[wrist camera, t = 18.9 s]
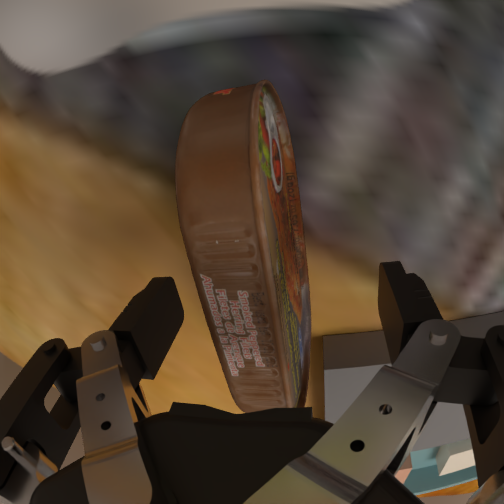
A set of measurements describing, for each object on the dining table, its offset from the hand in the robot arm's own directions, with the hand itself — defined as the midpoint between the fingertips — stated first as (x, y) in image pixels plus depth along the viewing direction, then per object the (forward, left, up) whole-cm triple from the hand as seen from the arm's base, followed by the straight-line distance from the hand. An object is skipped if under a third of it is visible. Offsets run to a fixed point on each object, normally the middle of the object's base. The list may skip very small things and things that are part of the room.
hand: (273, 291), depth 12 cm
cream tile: (-16, +24, -5) cm, 29 cm away
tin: (0, 0, -6) cm, 6 cm away
